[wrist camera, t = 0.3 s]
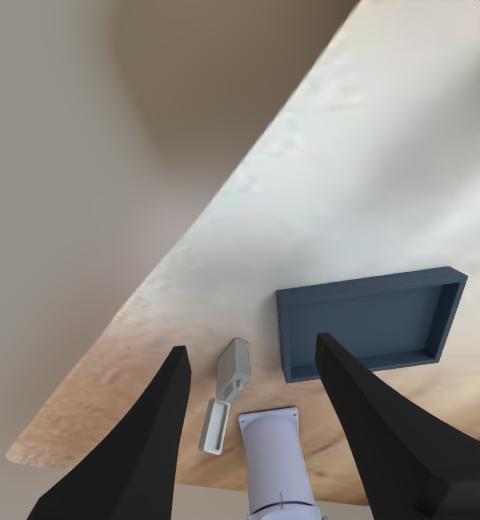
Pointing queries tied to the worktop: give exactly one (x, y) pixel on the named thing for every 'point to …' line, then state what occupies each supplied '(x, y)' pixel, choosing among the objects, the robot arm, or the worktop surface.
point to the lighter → (225, 394)
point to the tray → (370, 320)
